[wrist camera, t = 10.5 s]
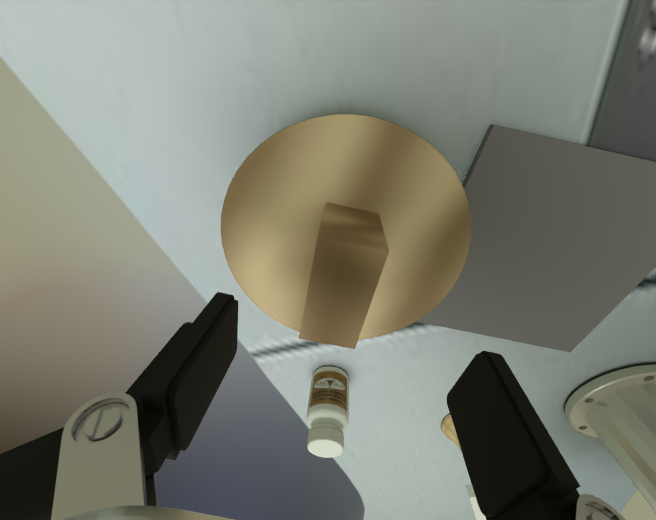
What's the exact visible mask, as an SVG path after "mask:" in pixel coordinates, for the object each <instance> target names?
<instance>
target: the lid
mask: <svg viewBox="0 0 656 520" xmlns="http://www.w3.org/2000/svg"><path fill="white" fill-rule="evenodd" d="M221 237H222V245H223V249H224V253H225V257H226V260H227V262H228V265H229V268H230V270H231V272H232V274H233V276H234V278H235V279H236V281H237V283H238V284H239V286H240V287H241V289H242V290H243V291H244V293H245V294H246V295H247V296H248V297H249V298H250V299H251V301H252V302H253V303H254V304H255V305H257V306H258V307H259V308H260V309H261V310H262V311H263V312H265V313H266V314H268V315H269V316H270V317H272V318H273V319H275V320H276V321H278V322H280V323H282V324H283V325H285V326H287V327H290V328H292V329H294V330H296V331H299V332H300V335H299V338H300V339H305V340H311V341H316V342H321V343H326V344H331V345H337V346H342V347H347V348H352V349H355V347H356V344H357V341H358V340H359V339H367V338H373V337H377V336H382V335H386V334H388V333H391V332H394V331H397V330H399V329H402V328H404V327H406V326H408V325H410V324H412V323H414V322H415V321H417V320H419V319H420V318H422V317H423V316H424V315H426V314H427V313H428V312H430V311H431V310H432V309H433V308H435V307H436V306H437V305H438V304H439V303H440V302H441V301H442V300H443V299H444V297H445V296H446V295H447V294H448V293H449V291H450V290H451V289H452V287H453V286H454V284H455V282H456V281H457V279H458V278H459V276H460V274H461V271H462V269H463V267H464V265H465V262H466V258H467V255H468V252H469V247H470V240H471V215H470V209H469V204H468V200H467V197H466V194H465V191H464V189H463V186H462V184H461V182H460V180H459V178H458V177H457V175H456V173H455V171H454V170H453V168H452V167H451V166H450V164H449V163H448V162H447V161H446V159H445V158H444V157H443V156H442V155H441V154H440V153H439V152H438V151H437V150H436V149H435V148H434V147H433V146H432V145H431V144H430V143H428V142H427V141H425V140H424V139H422V138H421V137H420V136H418V135H417V134H415V133H414V132H412V131H410V130H408V129H405V128H403V127H401V126H399V125H397V124H395V123H392V122H389V121H385V120H382V119H379V118H375V117H370V116H363V115H356V114H334V115H328V116H322V117H316V118H312V119H309V120H306V121H303V122H299V123H296V124H293V125H291V126H289V127H287V128H285V129H283V130H281V131H279V132H277V133H276V134H274V135H273V136H271V137H270V138H269V139H267V140H266V141H264V142H263V143H261V144H260V145H259V146H258V147H257V148H256V149H255V150H254V151H253V152H252V153H251V154H250V155H249V156H248V157H247V158H246V160H245V161H244V162H243V164H242V165H241V166H240V168H239V169H238V170H237V172H236V174H235V176H234V178H233V179H232V181H231V183H230V185H229V188H228V191H227V194H226V196H225V199H224V204H223V209H222V214H221Z"/></svg>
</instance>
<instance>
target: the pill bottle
mask: <svg viewBox="0 0 656 520" xmlns="http://www.w3.org/2000/svg"><path fill="white" fill-rule="evenodd" d="M348 409H349V378H348V376H347V374H346V373H345V372H344V371H343V370H341V369H339V368H337V367H331V366H326V367H321V368H319V369H317V370H316V371H315V372H314V374H313V376H312V382H311V389H310V396H309V403H308V410H307V423H308V425H309V427H310V430H309V437H308V450H309V451H310V452H311V453H312V454H314V455H316V456H320V457H325V458H330V457H336V456H339V455H341V454H342V452H343V447H344V436H343V432H342V431H344V430H345V429H346V427H347V425H348V415H349V413H348Z"/></svg>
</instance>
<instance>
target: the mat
mask: <svg viewBox="0 0 656 520" xmlns="http://www.w3.org/2000/svg"><path fill="white" fill-rule="evenodd" d="M463 189H464V191H465V194H466V197H467V200H468V204H469V209H470V215H471V240H470V247H469V252H468V255H467V258H466V262H465V265H464V267H463V269H462V271H461V274H460V276H459V278H458V279H457V281H456V282H455V284H454V286H453V287H452V289H451V290H450V291H449V293H448V294H447V295H446V296H445V297H444V299H443V300H442V301H441V302H440V303H439V304H438V305H437V306H436V307H435V308H433V309H432V310H431V311H430V312H428V313H427V314H426V315H424V316H423V317H422V318H420V319H419V320H417V322H422V323H427V324H432V325H437V326H442V327H447V328H452V329H457V330H462V331H467V332H472V333H477V334H482V335H487V336H492V337H497V338H502V339H507V340H512V341H517V342H522V343H527V344H532V345H537V346H542V347H547V348H552V349H557V350H562V351H567V352H571V351H572V350H573V349H574V348H575V347H576V346H577V345H578V344H579V343H580V342H581V341H582V340H583V339H584V338H585V337H586V336H587V335H588V334H589V333H590V332H591V331H592V330H593V329H594V328H595V327H596V326H597V325H598V324H599V323H600V322H601V321H602V320H603V319H604V318H605V317H606V316H607V315H608V314H609V313H610V312H611V311H612V310H613V309H614V308H615V307H616V306H617V305H618V304H619V303H620V302H621V301H622V300H623V299H624V298H625V297H626V296H627V295H628V294H629V293H630V292H631V291H632V290H633V289H634V288H635V287H636V286H637V285H638V284H639V283H640V282H641V281H642V280H643V279H644V278H645V277H646V276H647V275H648V274H649V273H650V272H651V271H652V270H653V269H654V268H655V267H656V162H653V161H649V160H645V159H640V158H636V157H632V156H627V155H623V154H618V153H614V152H610V151H605V150H601V149H597V148H592V147H588V146H583V145H579V144H575V143H570V142H566V141H562V140H557V139H553V138H548V137H544V136H540V135H535V134H531V133H527V132H522V131H518V130H513V129H509V128H505V127H500V126H496V125H490V127H489V129H488V131H487V134H486V136H485V138H484V140H483V142H482V144H481V147H480V149H479V151H478V153H477V155H476V158H475V160H474V162H473V164H472V166H471V168H470V171H469V173H468V175H467V177H466V179H465V181H464V184H463Z"/></svg>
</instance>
